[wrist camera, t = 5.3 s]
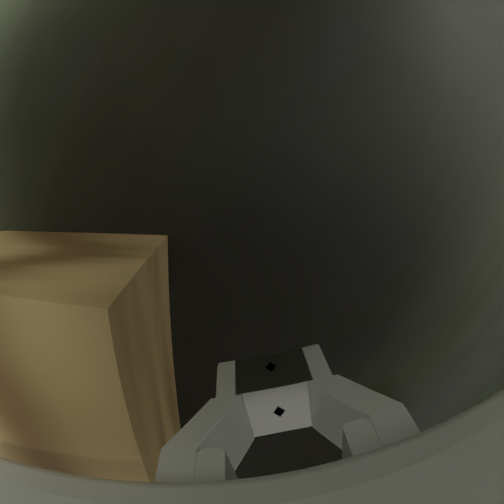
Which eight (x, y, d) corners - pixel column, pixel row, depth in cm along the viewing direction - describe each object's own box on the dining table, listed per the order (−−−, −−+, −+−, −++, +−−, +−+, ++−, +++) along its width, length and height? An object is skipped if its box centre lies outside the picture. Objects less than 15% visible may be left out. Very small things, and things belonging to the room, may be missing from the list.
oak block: (168, 234, 11) (107, 309, 5) (181, 427, 14) (167, 526, 8) (4, 229, 10) (-92, 274, 5) (48, 403, 13) (6, 476, 7)
